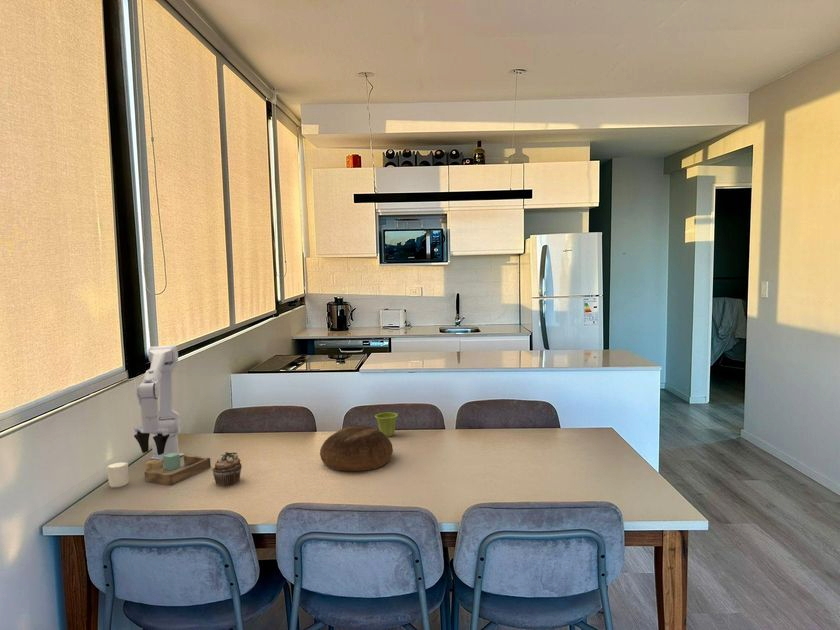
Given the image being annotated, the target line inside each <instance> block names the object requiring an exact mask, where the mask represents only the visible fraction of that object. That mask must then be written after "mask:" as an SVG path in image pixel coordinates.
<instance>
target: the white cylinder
mask: <svg viewBox="0 0 840 630" xmlns="http://www.w3.org/2000/svg"><path fill="white" fill-rule="evenodd" d="M105 468H106V473H107V474H106V475H107V479H108V483H109V485H108V486H109V487H110V488H120V487H124V486H126V485H127V484H129V463H128V461H118V462H113V463H109V464H108V465H106V466H105Z"/></svg>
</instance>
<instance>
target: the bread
mask: <svg viewBox="0 0 840 630" xmlns="http://www.w3.org/2000/svg"><path fill="white" fill-rule="evenodd" d="M393 452H394V448H393V444H392V442H391V440H390V439H389V437H387V436H386V435H385V434H383V433H382V432H381V431H379V429H377V428H375V427H373V426H370V425H361V424H356V425H355V424H354V425H352V426H347V427H343V428H341V429H339V430H338V431H336V432H334V433H333V434H331V435H329V437H327V439H326V440H324V442H323V443H322V445H321V447H320V452H319V456H320V459H321V462H322V463H323V464H324V465H325V466H327V467H329V468H331V469H334V470H337V471H341V472H364V471H371V470H375V469H378V468H380V467H383V466H384V465H385V464H387V463H388V462H389V461H390V459H391V458H392V456H393Z"/></svg>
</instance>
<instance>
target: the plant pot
mask: <svg viewBox="0 0 840 630" xmlns="http://www.w3.org/2000/svg"><path fill="white" fill-rule="evenodd" d="M397 417H399V415H398V413H396V412H381V413H377V414H376V415H375V418H376V421H377V425H378V430H379V431H381V432H382V433H383V434H385V435H386V436H387V438H389V437H393V436H395V431H396V423H397V421H396V420H397Z"/></svg>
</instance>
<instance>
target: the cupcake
mask: <svg viewBox="0 0 840 630" xmlns="http://www.w3.org/2000/svg"><path fill="white" fill-rule="evenodd" d="M242 469H243V467H242V463H241V459H240V458H239V454H238V452H228V451H225V452H223V454H221V455H220V457H219V458H218V459H217V460H216V462H215V464H214V467H213V468H212V469H211V470H212V475H213V478H214V482H215V485H216V486H217V487H230V486H234V485H236V484H238V483H239V482H240V480H241V472H242Z"/></svg>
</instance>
